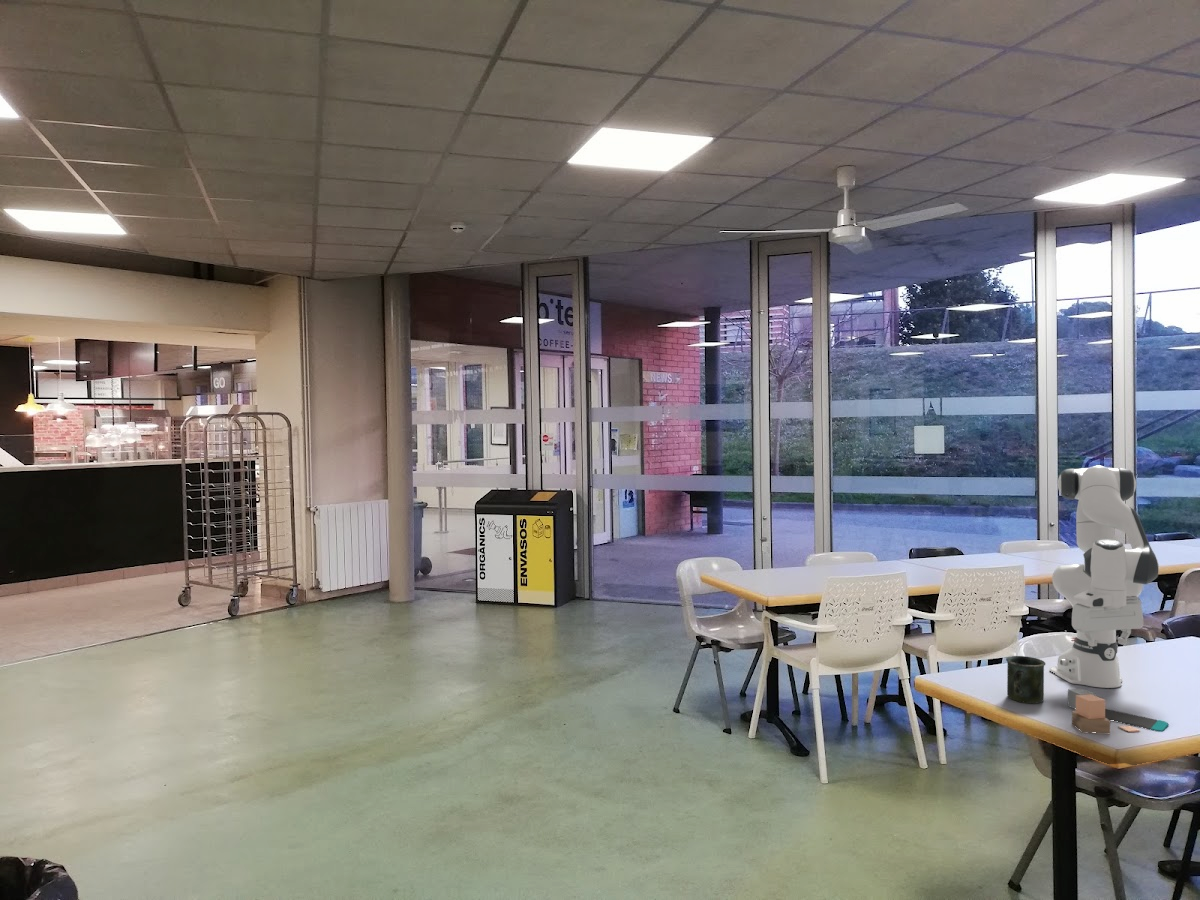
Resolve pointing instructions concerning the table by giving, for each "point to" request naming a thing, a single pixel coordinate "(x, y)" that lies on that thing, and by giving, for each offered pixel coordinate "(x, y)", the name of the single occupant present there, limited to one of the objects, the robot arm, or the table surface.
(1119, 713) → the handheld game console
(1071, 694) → the grey cube
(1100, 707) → the terracotta cube
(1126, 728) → the tile
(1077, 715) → the walnut block
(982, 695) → the table surface
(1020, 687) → the mug
